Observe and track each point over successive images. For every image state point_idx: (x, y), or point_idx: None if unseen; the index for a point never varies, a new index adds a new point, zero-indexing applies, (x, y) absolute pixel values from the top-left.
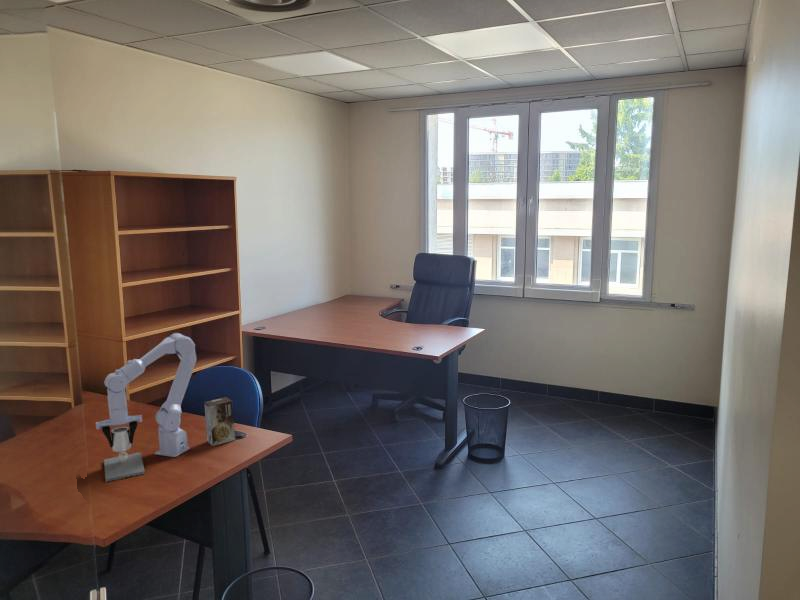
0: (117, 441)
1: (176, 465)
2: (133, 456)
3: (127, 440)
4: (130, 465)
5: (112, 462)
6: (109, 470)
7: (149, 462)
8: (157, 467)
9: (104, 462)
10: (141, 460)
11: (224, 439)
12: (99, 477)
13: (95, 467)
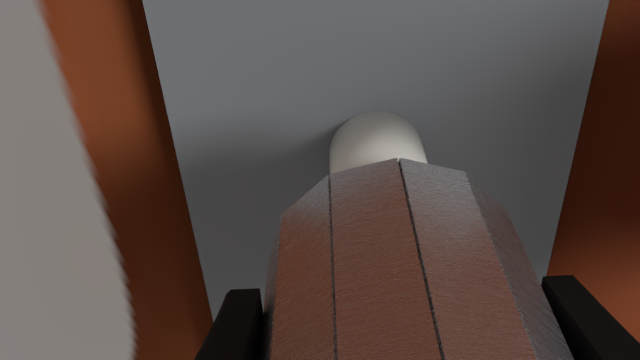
0: None
1: None
2: (504, 44)
3: None
4: None
5: (256, 113)
6: (245, 282)
7: (615, 193)
8: (633, 312)
9: (160, 71)
10: (555, 198)
11: None
12: (170, 298)
13: (71, 70)
